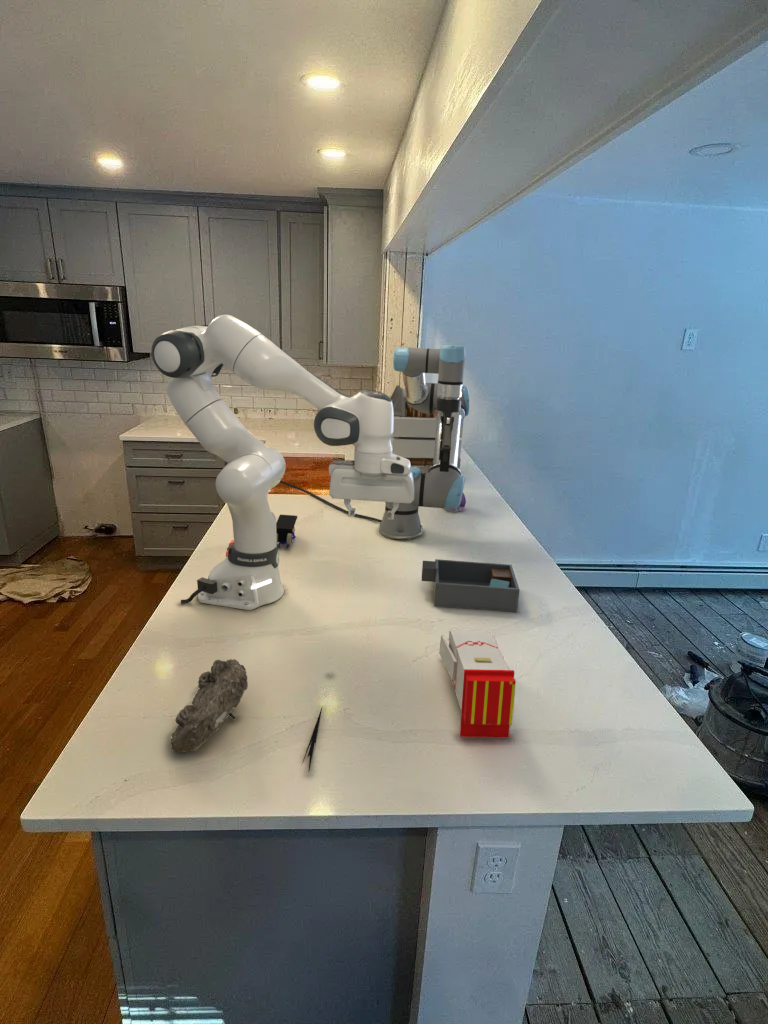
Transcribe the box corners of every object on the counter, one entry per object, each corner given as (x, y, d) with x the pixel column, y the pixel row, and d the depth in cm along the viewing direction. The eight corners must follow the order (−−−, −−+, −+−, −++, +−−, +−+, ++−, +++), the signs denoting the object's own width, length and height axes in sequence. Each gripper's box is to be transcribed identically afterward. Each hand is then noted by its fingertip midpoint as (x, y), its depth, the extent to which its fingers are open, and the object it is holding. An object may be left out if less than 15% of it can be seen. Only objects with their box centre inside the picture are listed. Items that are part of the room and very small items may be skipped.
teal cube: (505, 606, 152) (487, 602, 154) (507, 597, 157) (489, 594, 158) (507, 589, 151) (489, 586, 152) (509, 581, 155) (491, 578, 156)
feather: (331, 679, 122) (336, 673, 122) (307, 777, 96) (313, 769, 95) (324, 675, 122) (329, 669, 121) (298, 772, 95) (304, 764, 95)
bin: (420, 605, 152) (422, 576, 150) (421, 579, 167) (422, 552, 164) (516, 612, 151) (520, 583, 148) (508, 585, 166) (512, 559, 163)
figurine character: (292, 555, 182) (298, 532, 196) (292, 534, 179) (298, 513, 192) (272, 554, 182) (279, 532, 195) (270, 533, 179) (278, 512, 192)
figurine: (452, 514, 221) (455, 477, 216) (438, 506, 229) (441, 470, 224) (472, 511, 225) (475, 475, 220) (457, 503, 234) (460, 468, 229)
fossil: (195, 660, 117) (247, 628, 112) (227, 691, 120) (279, 661, 115) (146, 746, 98) (206, 711, 93) (185, 779, 101) (245, 748, 96)
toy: (489, 613, 130) (525, 677, 101) (485, 667, 133) (518, 744, 104) (437, 612, 130) (457, 676, 101) (434, 666, 133) (453, 743, 103)
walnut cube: (491, 592, 160) (493, 576, 158) (489, 584, 164) (491, 568, 163) (509, 593, 159) (511, 577, 158) (506, 585, 164) (508, 569, 162)
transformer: (381, 463, 289) (385, 382, 275) (444, 464, 292) (450, 384, 279) (389, 482, 257) (393, 392, 243) (459, 483, 261) (467, 394, 247)
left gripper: (326, 462, 130) (326, 519, 134) (415, 468, 128) (412, 524, 133) (331, 455, 136) (330, 510, 140) (416, 461, 134) (413, 515, 139)
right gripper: (463, 405, 160) (457, 477, 167) (459, 392, 183) (453, 456, 190) (437, 403, 160) (431, 475, 167) (436, 391, 184) (431, 455, 191)
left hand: (371, 517), depth 137 cm, fingers open, 8 cm apart
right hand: (443, 465), depth 179 cm, fingers open, 13 cm apart
